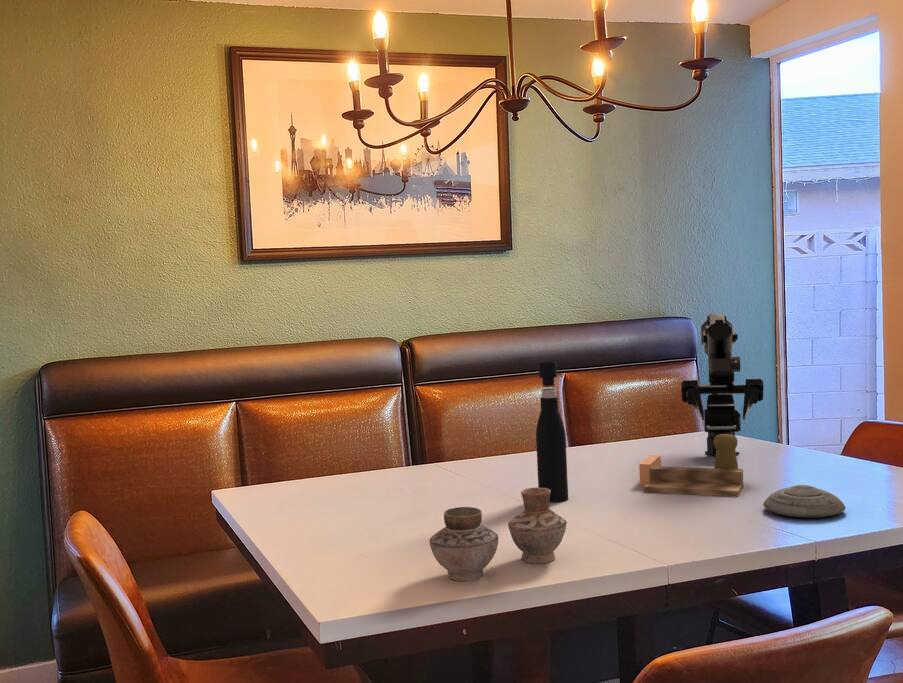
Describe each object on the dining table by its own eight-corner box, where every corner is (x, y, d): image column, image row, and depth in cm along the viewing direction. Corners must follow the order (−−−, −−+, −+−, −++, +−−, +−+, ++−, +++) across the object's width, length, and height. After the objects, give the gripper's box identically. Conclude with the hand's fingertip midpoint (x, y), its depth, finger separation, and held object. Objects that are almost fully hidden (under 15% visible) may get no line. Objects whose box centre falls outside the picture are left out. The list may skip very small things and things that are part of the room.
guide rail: (748, 479, 207) (747, 457, 207) (738, 496, 192) (737, 473, 191) (650, 475, 216) (649, 454, 216) (633, 491, 201) (632, 469, 201)
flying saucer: (784, 500, 188) (783, 474, 187) (858, 510, 177) (857, 482, 177) (749, 515, 177) (748, 487, 177) (825, 527, 167) (824, 497, 166)
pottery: (581, 561, 153) (578, 491, 152) (453, 592, 141) (449, 516, 140) (542, 546, 163) (539, 480, 162) (419, 574, 150) (415, 503, 150)
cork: (707, 482, 207) (705, 434, 206) (727, 478, 209) (726, 431, 209) (725, 486, 201) (723, 437, 201) (746, 483, 204) (745, 434, 203)
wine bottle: (533, 498, 200) (527, 362, 198) (559, 494, 202) (553, 360, 200) (547, 504, 194) (541, 364, 192) (573, 500, 196) (567, 361, 194)
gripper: (679, 346, 218) (680, 398, 208) (761, 344, 213) (766, 396, 203) (681, 376, 226) (682, 427, 216) (760, 374, 221) (765, 426, 211)
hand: (723, 418), depth 212 cm, fingers open, 9 cm apart
